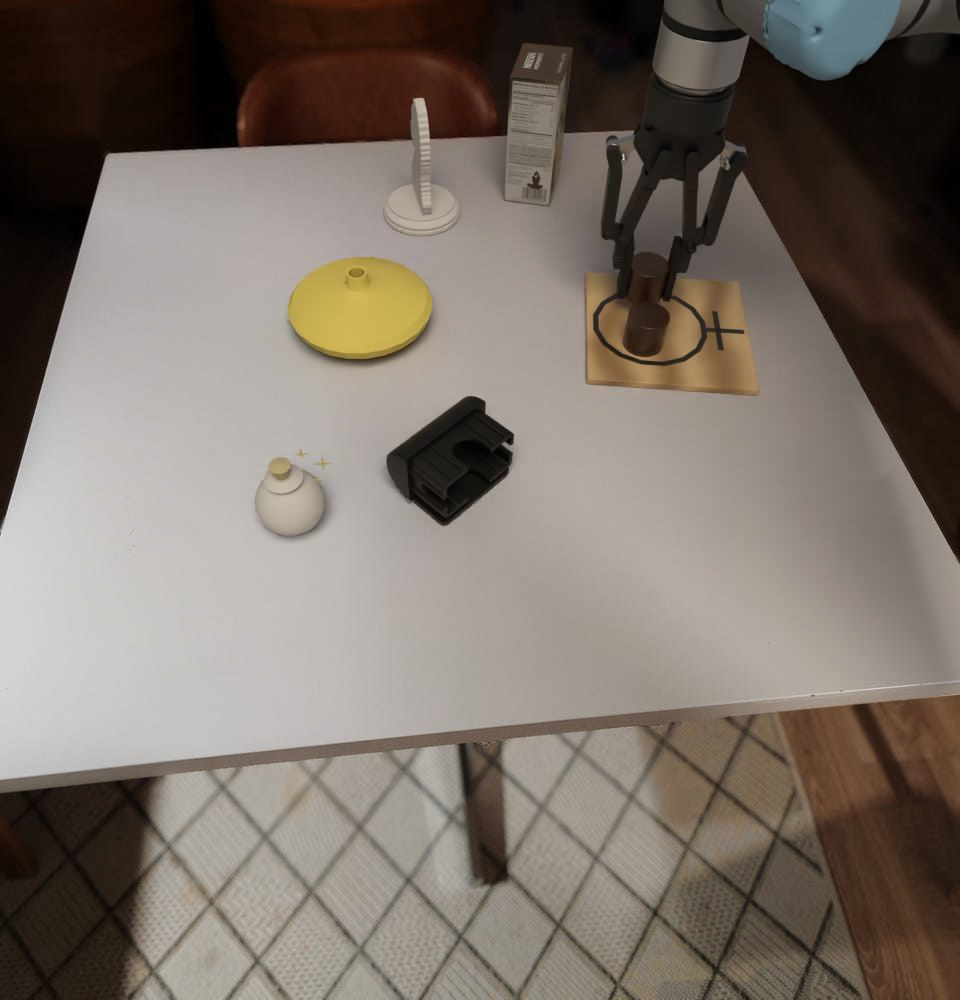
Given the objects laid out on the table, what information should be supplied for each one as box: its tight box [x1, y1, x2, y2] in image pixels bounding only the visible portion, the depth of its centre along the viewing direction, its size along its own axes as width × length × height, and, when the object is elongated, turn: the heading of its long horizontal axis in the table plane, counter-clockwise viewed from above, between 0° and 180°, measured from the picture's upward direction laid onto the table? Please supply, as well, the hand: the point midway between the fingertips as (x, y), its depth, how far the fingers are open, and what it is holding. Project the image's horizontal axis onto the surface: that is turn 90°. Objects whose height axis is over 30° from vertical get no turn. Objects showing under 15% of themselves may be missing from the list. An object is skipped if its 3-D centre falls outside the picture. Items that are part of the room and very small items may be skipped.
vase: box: [286, 256, 433, 360], centre depth 83 cm, size 16×16×7 cm
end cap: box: [385, 395, 515, 526], centre depth 71 cm, size 10×7×7 cm
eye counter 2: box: [622, 302, 670, 357], centre depth 83 cm, size 4×4×4 cm
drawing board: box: [584, 271, 761, 396], centre depth 86 cm, size 18×18×1 cm
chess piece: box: [383, 97, 461, 237], centre depth 93 cm, size 10×10×15 cm
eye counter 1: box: [625, 251, 670, 304], centre depth 85 cm, size 4×4×4 cm
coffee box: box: [503, 42, 574, 207], centre depth 97 cm, size 9×6×16 cm
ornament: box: [254, 448, 333, 537], centre depth 66 cm, size 6×7×10 cm
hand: (643, 292), depth 86 cm, fingers closed on eye counter 1, 4 cm apart
